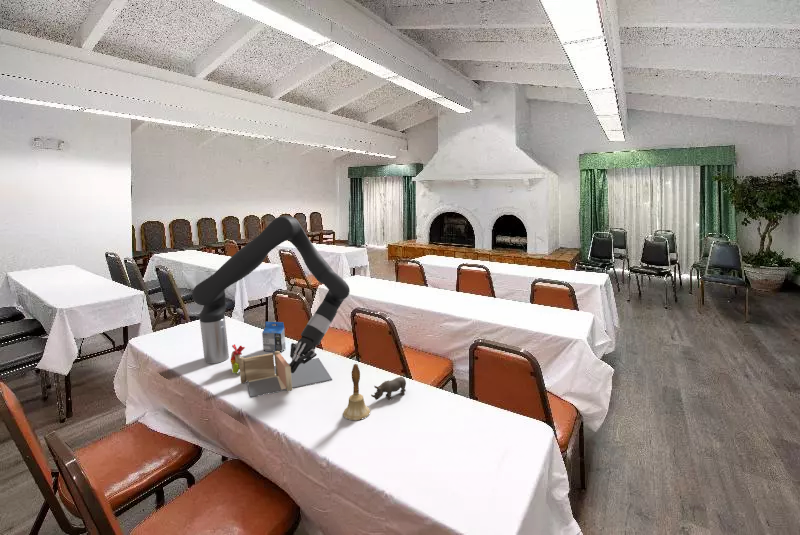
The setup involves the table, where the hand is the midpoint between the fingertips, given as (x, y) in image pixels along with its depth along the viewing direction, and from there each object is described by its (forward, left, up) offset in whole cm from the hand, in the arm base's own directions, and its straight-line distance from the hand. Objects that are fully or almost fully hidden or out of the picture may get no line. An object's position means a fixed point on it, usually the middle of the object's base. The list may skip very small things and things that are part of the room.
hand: (290, 371), depth 141 cm
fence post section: (-10, -9, -5) cm, 15 cm away
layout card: (-9, 0, -6) cm, 11 cm away
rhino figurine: (+22, +28, -6) cm, 36 cm away
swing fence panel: (-2, -2, -5) cm, 6 cm away
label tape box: (-37, -1, -6) cm, 38 cm away
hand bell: (+27, +15, -6) cm, 31 cm away
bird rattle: (-23, -17, -6) cm, 29 cm away
